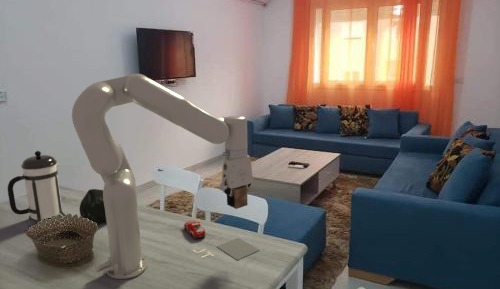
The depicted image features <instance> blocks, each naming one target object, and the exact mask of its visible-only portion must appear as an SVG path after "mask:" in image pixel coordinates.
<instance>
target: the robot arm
mask: <svg viewBox="0 0 500 289" xmlns="http://www.w3.org/2000/svg"><path fill="white" fill-rule="evenodd" d="M130 103H131V104H132V103H134V104H136V105H137V106H140V107H142V108H144V109H146V110H148V111H150V112H152V113H153V114H155V115H158V116H160V117H161V118H163V119H165V120H167V121H169V122H170V123H172V124H174V125H175V126H178V127H180V128H183V129H184V130H186V131H188V132H189V133H191V134H193V135H194V136H197V137H198V138H201V139H203V140H204V141H207V142H209V143H210V144H214V145H220V144H223V143H224V152H222V156H223V157H224V158H223V162H222V170H221V180H222V181H220V184H219V186H218V190H220V191H222V193H224V194H225V195H226V203H227V204H228V205H227V204H226V205H227V206H229V207H231V208H233V207H234V196H233V191H234V188H238V187H241V186H244V185H246V186H247V192H249V190H250V189H249V188H250V187H251V185H252V183H253V182H254V180H255V178H254V176H253V168H252V162H251V161H252V160H251V157H250V155H249V154H248V120H247V118H246V116H242V115H229V116H218V115H217V116H216V115H215V116H214V115H211V114H209V113H208V112H206V111H204V110H202V109H201V108H199V107H198V106H196V105H194V104H193V103H192V102H191V101H189V100H188V99H186V98H185V97H183V96H182V95H180V94H178V93H176V92H174V91H173V90H170V89H169V88H167V87H165V86H164V85H162V84H160V83H158V82H157V81H154V80H153V79H152V78H150V77H148V76H146V75H144V74H141V73H132V74H129V75H125V76H120V77H115V78H110V79H106V80H101V81H97V82H93V83H92V84H90V85H88V86H87V87H86V88H85V89H84V90H83V91H82V92H81V93H80V94H79V95H78V97H77V98H76V100H75V101H74V104H73V106H72V111H71V119H72V120H71V121H72V123H73V126H74V129H75V132H76V134H77V137H78V138H79V141H80V144H81V146H82V148H83V150H84V153H85V155H86V156H87V159H88V163H89V165H90V166H91V168H92V170H93V171H95V173H97V174H98V175H100V176H101V179H102V181H103V183H104V184H103V189H102V190H103V201H104V207H105V213H106V222H105V223H106V227H107V228H106V229H107V236H108V245H109V255H110V256H109V257H107V261H105V262H104V263H102V264H98V265H96V266H95V267H94V268H95V272H96V273H99V272H102V274H107V276H109V277H110V278H112V279H114V280H115V279H116V280H126V279H132V278H134V277H136V276H139V275H141V274H143V273H144V271H145V270H146V269H148V260H147V259H146V258H145V257H144V256H143V255H142V254H143V253H142V246H141V233H140V221H139V209H138V194H137V193H138V192H137V184H136V178H135V175H134V173H133V170H132V168H131V166H130V163H129V162H128V158H127V156H126V154H125V152H124V149H123V147H122V146H121V144H120V143H118V141H116V140H114V138H113V136H112V135H111V131H110V129H109V126H108V124H107V123H106V118H105V117H106V113H107V112H109V111H110V110H111V109H112V108H113V107H118V106H123V105H126V104H130ZM229 190H230V191H229Z"/></svg>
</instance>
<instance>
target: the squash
mask: <svg viewBox="0 0 500 289" xmlns="http://www.w3.org/2000/svg"><path fill="white" fill-rule="evenodd" d="M79 204H80V205H79V214H80V217H81V216H82V217H83V218H88V219H89V220H92V221H93V222H96V223H95V224H96V225H97V224H102V222H104V223H107V222H106V213H105V207H104V201H103V189H97V188H91V189H88V191H87V192H86V194H85V195H84V196H83V198H82V199H81V201H80V203H79ZM82 217H81V218H82Z"/></svg>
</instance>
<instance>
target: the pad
mask: <svg viewBox="0 0 500 289" xmlns="http://www.w3.org/2000/svg"><path fill="white" fill-rule="evenodd" d="M216 248H218V249H219V250H220V251H223V252H224V253H225V254H227V255H228V256H230V257H231V258H233V259H234V260H236V261H239V260H242V259H244V258H247V257H248V256H251V255H253V254H256V253H257V252H259V251H260V249H258V248H257V247H255V246H253V244H250V243H249V242H247V241H245V240H243V239H241V238H240V237H237V238H234V239H231V240H230V241H227V242H224V243H221V244H219V245H217V246H216Z"/></svg>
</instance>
